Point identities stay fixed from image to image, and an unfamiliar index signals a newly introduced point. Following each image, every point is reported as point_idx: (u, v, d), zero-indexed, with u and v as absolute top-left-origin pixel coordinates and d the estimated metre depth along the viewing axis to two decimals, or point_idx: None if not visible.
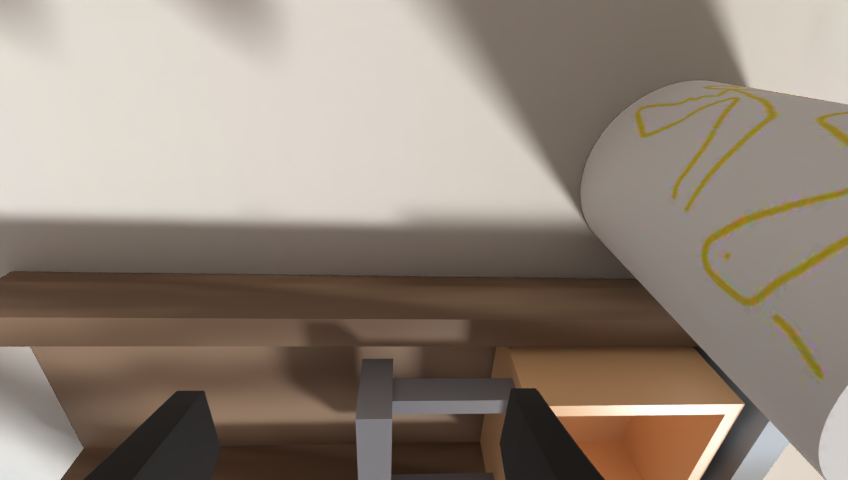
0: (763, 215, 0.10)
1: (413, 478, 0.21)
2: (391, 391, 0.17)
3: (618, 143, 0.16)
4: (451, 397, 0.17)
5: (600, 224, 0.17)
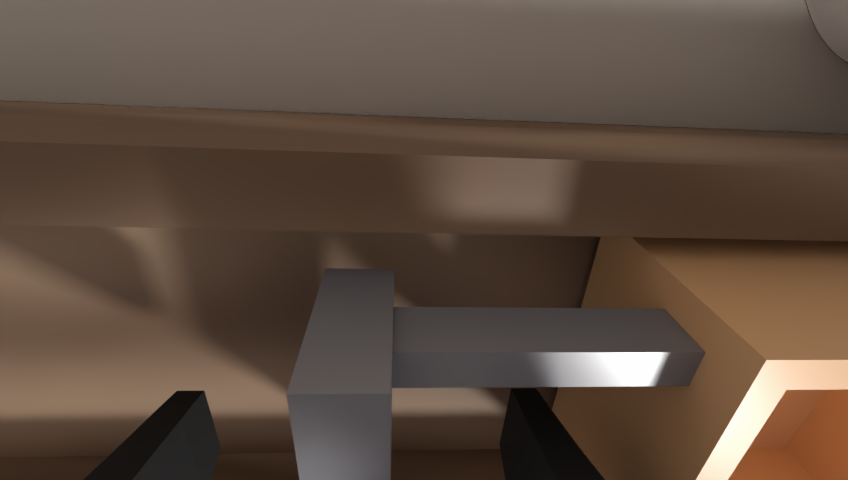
0: None
1: None
2: (389, 329, 0.07)
3: None
4: (538, 345, 0.07)
5: None
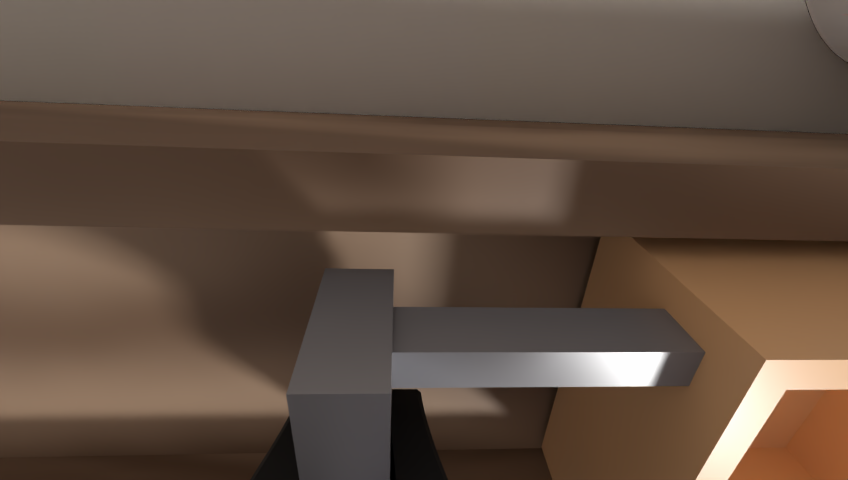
0: None
1: None
2: (389, 329, 0.07)
3: None
4: (538, 345, 0.07)
5: None
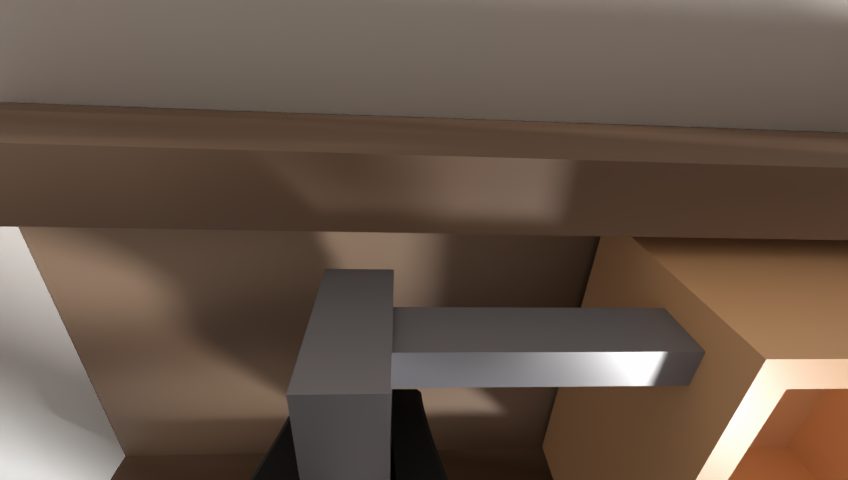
0: None
1: None
2: (389, 329, 0.07)
3: None
4: (538, 345, 0.07)
5: None
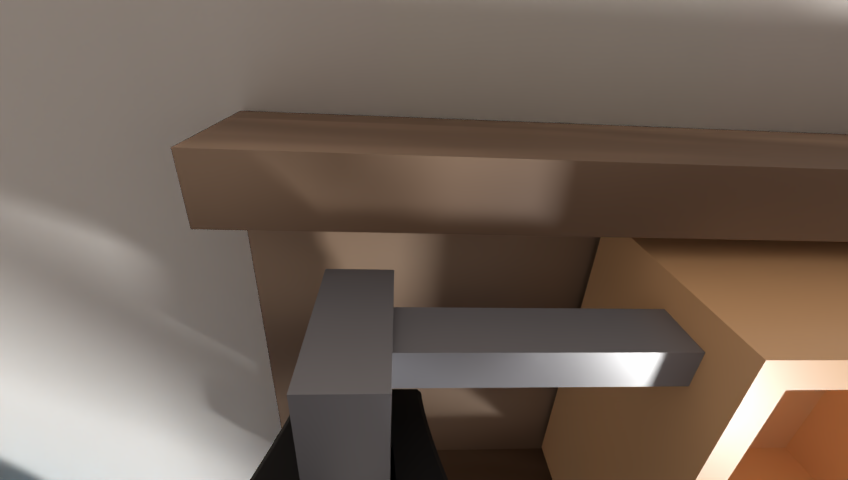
0: None
1: None
2: (390, 329, 0.07)
3: None
4: (538, 346, 0.07)
5: None
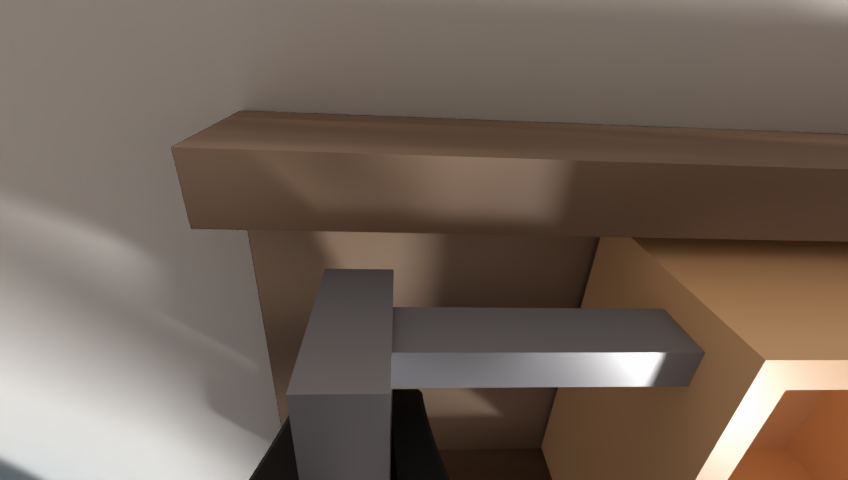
0: None
1: None
2: (389, 329, 0.07)
3: None
4: (537, 346, 0.07)
5: None
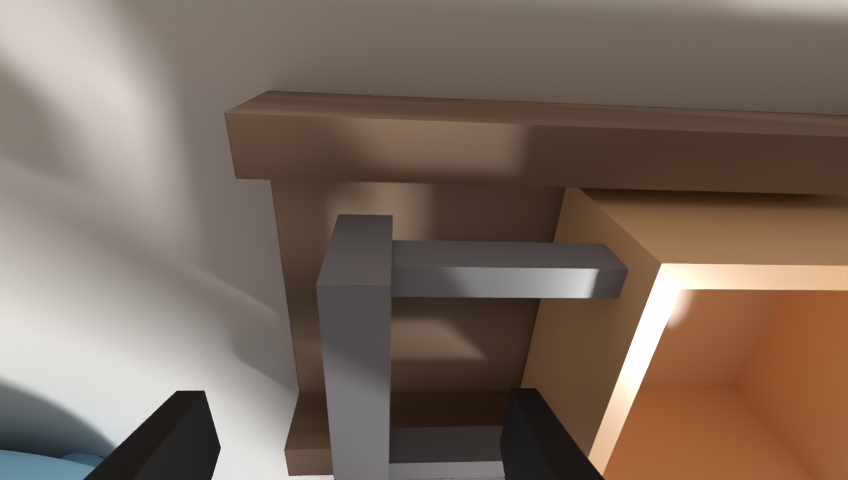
0: None
1: (425, 433, 0.13)
2: (389, 250, 0.09)
3: None
4: (502, 264, 0.09)
5: None
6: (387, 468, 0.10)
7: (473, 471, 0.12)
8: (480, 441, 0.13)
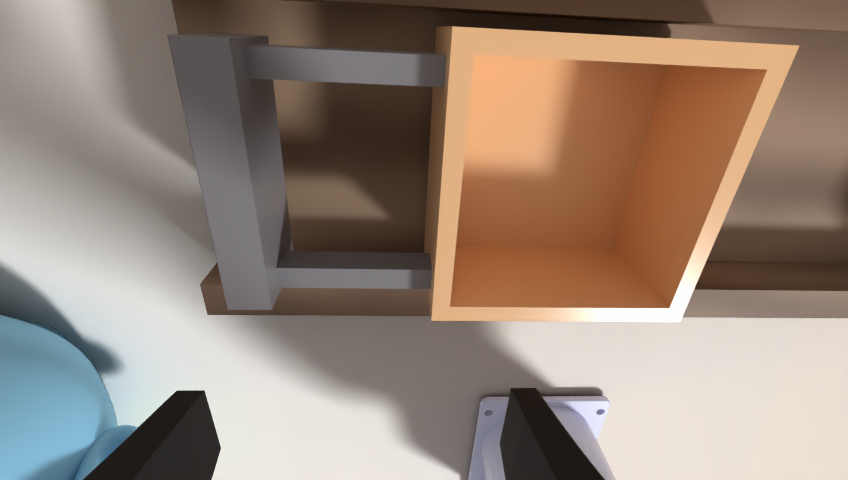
0: None
1: (315, 254, 0.15)
2: (245, 36, 0.11)
3: None
4: None
5: None
6: (260, 247, 0.12)
7: (353, 280, 0.14)
8: (362, 259, 0.14)
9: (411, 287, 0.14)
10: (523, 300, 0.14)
